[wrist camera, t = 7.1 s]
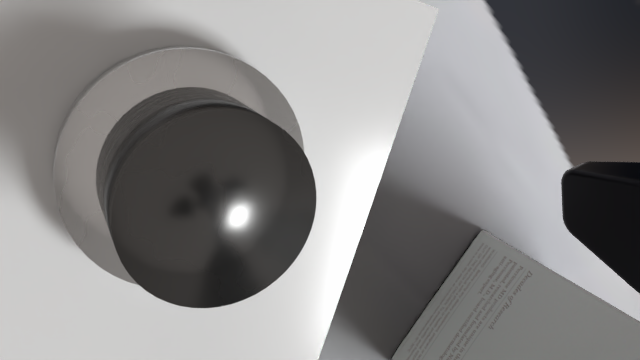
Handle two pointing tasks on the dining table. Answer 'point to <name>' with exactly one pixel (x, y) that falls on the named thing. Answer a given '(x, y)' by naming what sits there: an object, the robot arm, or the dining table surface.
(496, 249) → the supplement box
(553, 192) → the dining table surface
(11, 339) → the pale grey box
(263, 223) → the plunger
